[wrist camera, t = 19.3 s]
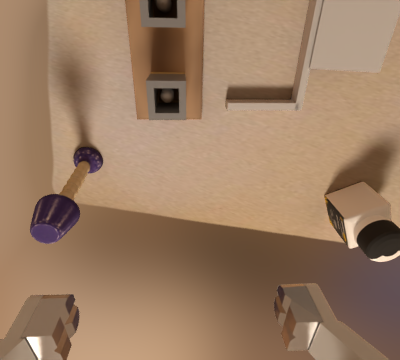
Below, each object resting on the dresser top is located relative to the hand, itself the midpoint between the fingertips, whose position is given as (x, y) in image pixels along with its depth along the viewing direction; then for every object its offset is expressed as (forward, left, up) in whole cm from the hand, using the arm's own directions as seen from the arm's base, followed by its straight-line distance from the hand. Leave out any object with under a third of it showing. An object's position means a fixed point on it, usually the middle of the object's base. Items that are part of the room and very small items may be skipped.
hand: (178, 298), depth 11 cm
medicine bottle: (-30, +18, -31) cm, 47 cm away
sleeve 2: (+1, -2, -30) cm, 30 cm away
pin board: (+1, -8, -31) cm, 32 cm away
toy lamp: (+14, +9, -31) cm, 35 cm away
